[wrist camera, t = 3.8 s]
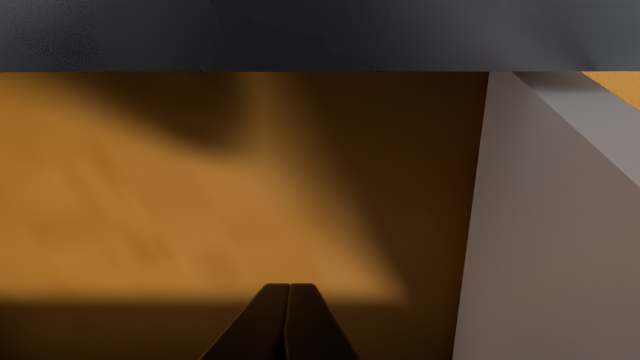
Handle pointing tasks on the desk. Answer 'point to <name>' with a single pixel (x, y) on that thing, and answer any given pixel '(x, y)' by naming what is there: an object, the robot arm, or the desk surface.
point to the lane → (318, 35)
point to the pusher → (553, 224)
